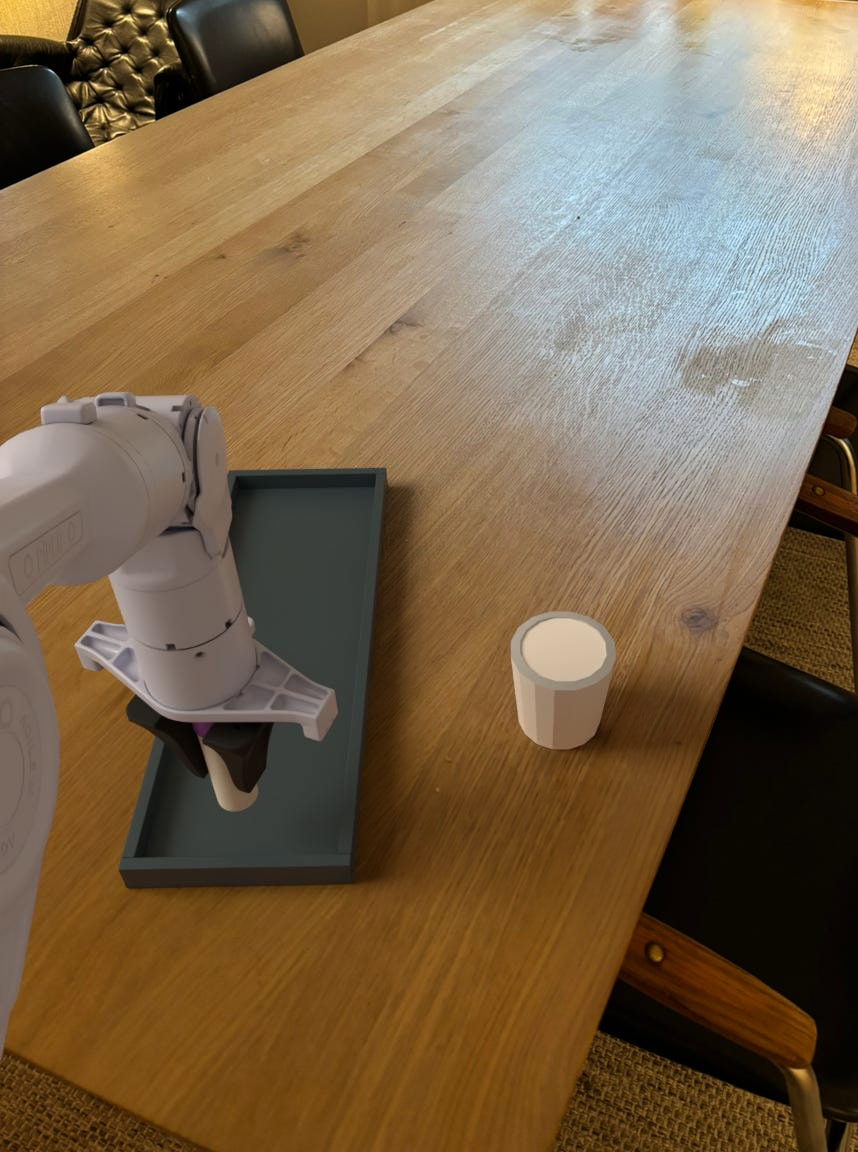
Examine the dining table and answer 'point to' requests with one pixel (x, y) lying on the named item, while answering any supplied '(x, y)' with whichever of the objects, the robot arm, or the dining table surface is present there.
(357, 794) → the desk tray
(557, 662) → the white cup
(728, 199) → the dining table surface
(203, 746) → the glue stick
